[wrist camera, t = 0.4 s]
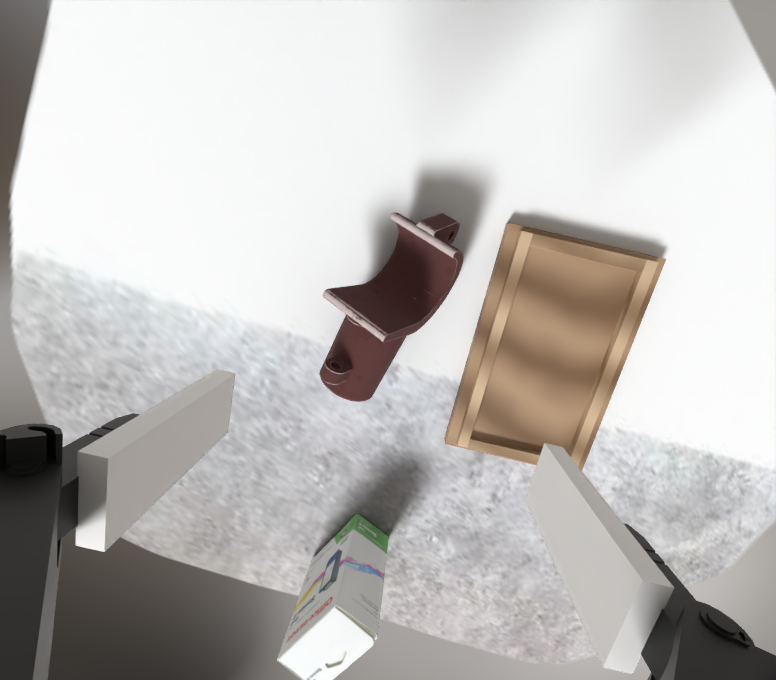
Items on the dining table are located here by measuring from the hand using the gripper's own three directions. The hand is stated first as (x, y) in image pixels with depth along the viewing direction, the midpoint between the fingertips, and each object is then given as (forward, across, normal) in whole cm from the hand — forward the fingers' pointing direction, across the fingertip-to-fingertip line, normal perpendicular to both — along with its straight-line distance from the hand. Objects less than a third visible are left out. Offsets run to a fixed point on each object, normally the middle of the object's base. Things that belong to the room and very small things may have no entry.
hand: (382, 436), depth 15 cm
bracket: (+22, -2, +3) cm, 22 cm away
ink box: (+22, 0, -26) cm, 34 cm away
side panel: (+22, +14, +1) cm, 26 cm away
